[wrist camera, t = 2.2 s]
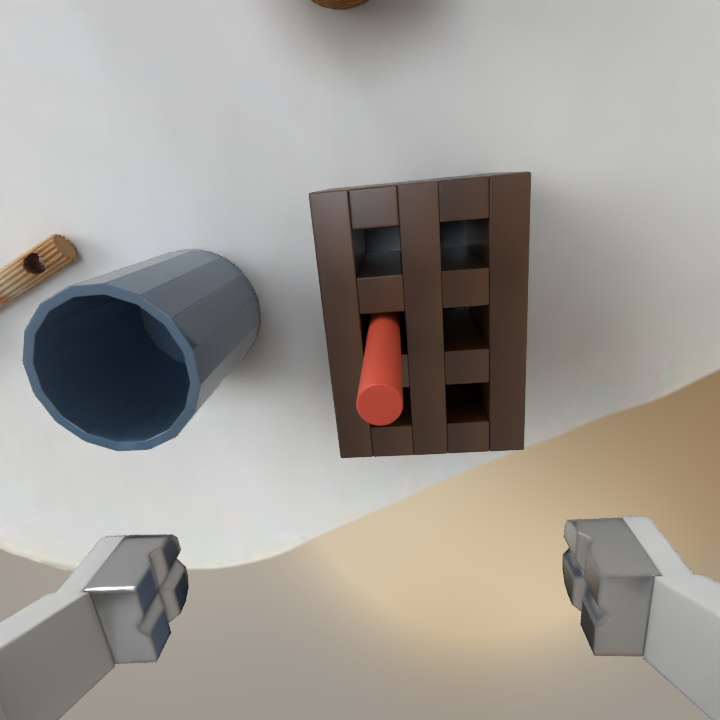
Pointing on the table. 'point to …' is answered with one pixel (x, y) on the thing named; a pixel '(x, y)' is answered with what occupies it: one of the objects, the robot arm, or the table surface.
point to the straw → (381, 371)
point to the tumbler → (140, 347)
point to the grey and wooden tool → (35, 266)
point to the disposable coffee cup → (339, 3)
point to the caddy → (430, 309)
